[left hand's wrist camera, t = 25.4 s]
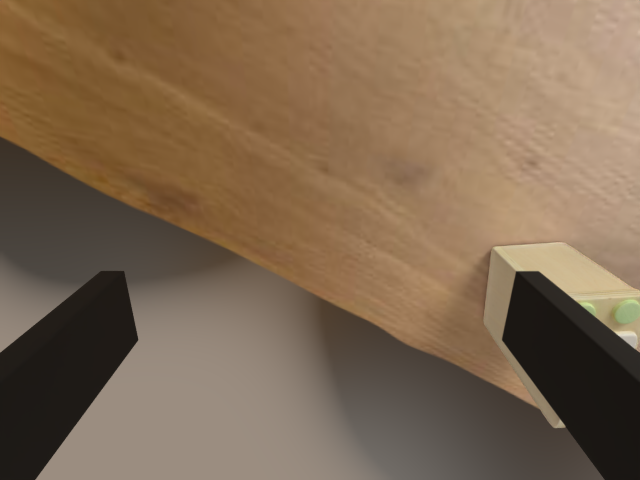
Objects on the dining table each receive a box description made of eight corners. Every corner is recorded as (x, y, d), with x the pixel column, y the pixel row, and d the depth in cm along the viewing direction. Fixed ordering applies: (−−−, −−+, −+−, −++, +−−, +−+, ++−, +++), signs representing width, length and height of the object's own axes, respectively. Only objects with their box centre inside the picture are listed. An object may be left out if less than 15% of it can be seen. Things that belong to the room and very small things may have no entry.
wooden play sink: (556, 319, 38) (666, 429, 26) (481, 323, 38) (555, 434, 26) (570, 240, 35) (704, 323, 22) (489, 245, 35) (578, 331, 23)
